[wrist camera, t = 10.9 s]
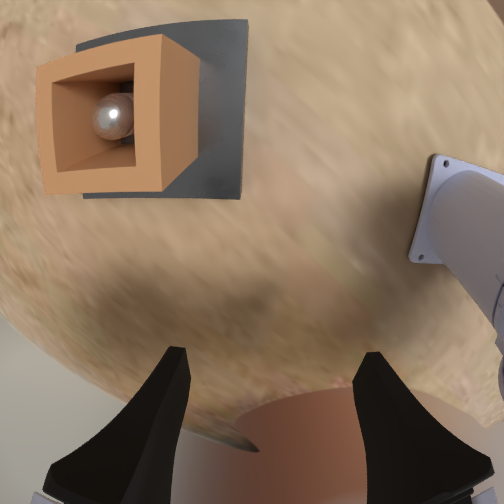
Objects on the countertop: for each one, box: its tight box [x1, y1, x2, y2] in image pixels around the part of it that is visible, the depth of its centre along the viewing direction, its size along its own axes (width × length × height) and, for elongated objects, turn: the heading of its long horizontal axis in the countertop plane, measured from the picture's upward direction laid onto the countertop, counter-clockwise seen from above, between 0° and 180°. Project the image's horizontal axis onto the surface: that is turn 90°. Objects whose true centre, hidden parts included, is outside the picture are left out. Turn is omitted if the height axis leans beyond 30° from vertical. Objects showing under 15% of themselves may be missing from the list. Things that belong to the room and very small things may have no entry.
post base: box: [76, 19, 249, 200], centre depth 12 cm, size 10×10×6 cm
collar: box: [36, 34, 200, 195], centre depth 10 cm, size 5×5×6 cm
